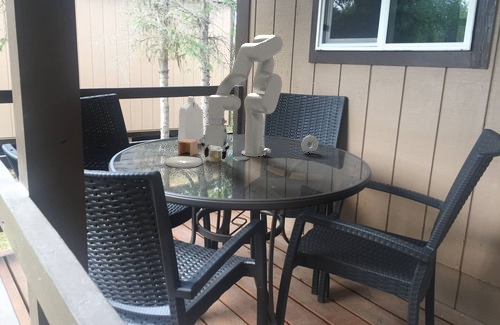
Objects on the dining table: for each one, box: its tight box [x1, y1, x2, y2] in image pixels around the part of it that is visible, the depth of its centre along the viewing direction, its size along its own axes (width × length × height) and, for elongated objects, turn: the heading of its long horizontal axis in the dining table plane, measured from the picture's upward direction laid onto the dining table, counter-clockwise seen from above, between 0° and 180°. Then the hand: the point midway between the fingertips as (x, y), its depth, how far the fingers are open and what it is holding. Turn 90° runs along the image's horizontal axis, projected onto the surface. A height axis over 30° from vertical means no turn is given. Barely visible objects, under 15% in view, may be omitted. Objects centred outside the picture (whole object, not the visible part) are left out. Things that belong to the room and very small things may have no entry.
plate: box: [164, 155, 203, 169], centre depth 194 cm, size 17×17×1 cm
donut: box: [300, 134, 319, 152], centre depth 225 cm, size 10×4×10 cm, turn 112°
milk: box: [177, 96, 205, 145], centre depth 240 cm, size 12×12×26 cm
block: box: [208, 149, 223, 163], centre depth 201 cm, size 4×4×5 cm
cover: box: [177, 139, 198, 157], centre depth 212 cm, size 7×7×7 cm
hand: (215, 157), depth 201 cm, fingers open, 8 cm apart
